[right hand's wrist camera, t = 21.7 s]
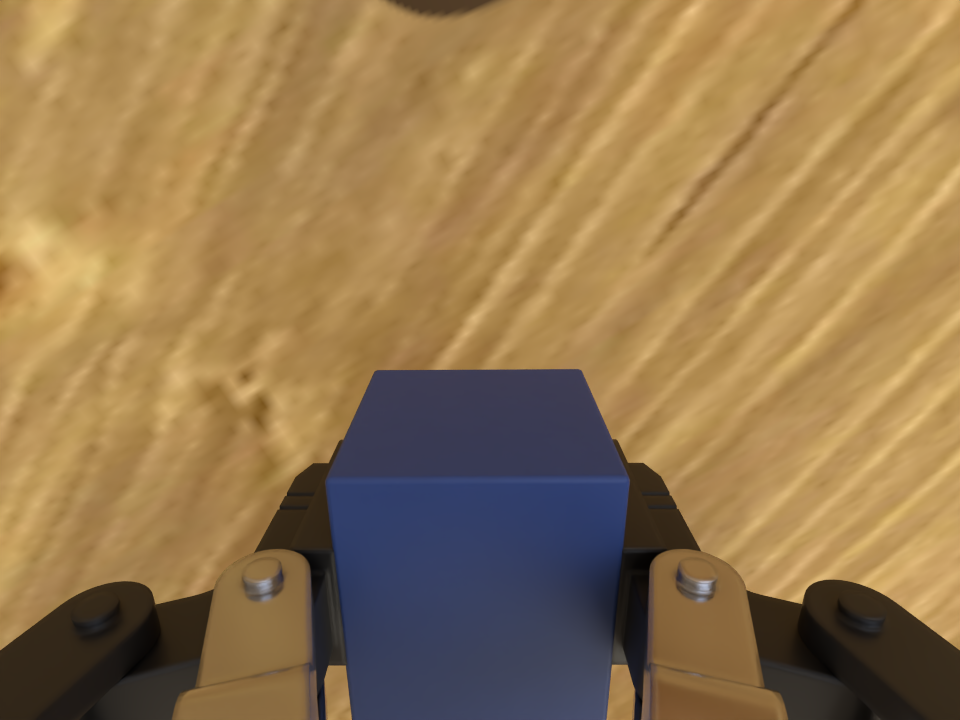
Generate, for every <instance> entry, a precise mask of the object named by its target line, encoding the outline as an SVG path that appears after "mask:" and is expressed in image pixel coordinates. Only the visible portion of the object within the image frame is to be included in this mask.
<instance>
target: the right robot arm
mask: <svg viewBox="0 0 960 720" xmlns="http://www.w3.org/2000/svg"><path fill="white" fill-rule="evenodd" d="M612 440H613V443H614V445H615V447H616V449H617V452H618V454H619V456H620V458H621V461H622V463H623V465H624V467H625V470H626V472H627V474H628V477H629V479H630V484H629V494H628V504H627V515H626V525H625V535H624V545H623V550H622V560H621V571H620V581H619V591H618V601H617V611H616V621H615V632H614V642H613V652H612V662H611V665H628V667H629V671H630V674H631V678H632V682H633V685H634V688H635V690H634V698H633V715H632V720H960V650H958V649H957V648H956V647H954V646H953V645H952V644H950V643H949V642H948V641H946V640H945V639H944V638H942V637H941V636H940V635H938V634H937V633H936V632H934V631H933V630H932V629H930V628H929V627H928V626H926V625H925V624H924V623H922V622H921V621H920V620H918V619H917V618H916V617H914V616H913V615H912V614H910V613H909V612H908V611H906V610H905V609H904V608H902V607H901V606H900V605H898V604H897V603H896V602H894V601H893V600H891V599H890V598H888V597H887V596H885V595H883V594H881V593H879V592H877V591H875V590H873V589H871V588H868V587H866V586H863V585H860V584H856V583H853V582H848V581H843V580H823V581H818V582H816V583H813V584H812V585H810V586H809V587H808V588H807V590H806V592H805V595H804V599H803V603H802V604H799V603H794V602H790V601H785V600H781V599H777V598H772V597H768V596H763V595H760V594H756V593H753V592H750V591H747V590H746V587H745V584H744V581H743V580H742V578H741V576H740V575H739V574H738V573H737V571H736V570H734V569H733V568H732V567H731V566H730V565H728V564H727V563H726V562H724V561H722V560H721V559H719V558H717V557H715V556H712V555H710V554H707V553H704V552H701V550H700V548H699V546H698V545H697V543H696V541H695V539H694V537H693V535H692V533H691V532H690V530H689V528H688V526H687V524H686V522H685V520H684V519H683V517H682V515H681V513H680V511H679V509H677V506H676V504H675V502H674V500H673V498H672V496H670V495H669V491H668V489H667V487H666V485H665V483H664V481H663V480H662V478H661V476H659V475H658V474H657V473H656V472H654V471H653V470H652V469H650V468H649V467H648V466H647V465H645V464H644V463H628V462H627V460H626V458H625V456H624V454H623V451H622V449H621V447H620V445H619V443H618V441H617V440H616V439H612ZM342 442H343V440H340V441H339V443H338V445H337V447H336V449H335V451H334V453H333V455H332V457H331V460H330V462H329V463H313V464H312V465H311V466H309V467H308V468H307V469H306V470H304V471H303V472H302V473H300V474H299V475H298V476H297V477H296V478H295V479H294V481H293V483H292V485H291V487H290V488H289V490H288V492H287V496H285V498H284V499H283V501H282V503H281V505H280V509H279V510H277V512H276V514H275V516H274V518H273V519H272V521H271V523H270V525H269V527H268V529H267V530H266V532H265V534H264V536H263V538H262V540H261V541H260V543H259V545H258V547H257V549H256V550H255V552H254V553H253V554H250V555H248V556H245V557H243V558H241V559H239V560H238V561H236V562H234V563H233V564H231V565H230V566H229V567H228V568H227V569H226V570H224V571H223V573H222V574H221V575H220V576H219V578H218V580H217V581H216V584H215V587H214V589H213V590H211V591H208V592H205V593H202V594H199V595H195V596H191V597H187V598H183V599H178V600H174V601H169V602H165V603H161V604H156V605H155V601H154V597H153V594H152V592H151V590H150V589H149V588H148V587H146V586H145V585H143V584H140V583H137V582H128V581H123V582H113V583H108V584H104V585H100V586H97V587H94V588H91V589H89V590H86V591H84V592H82V593H80V594H78V595H76V596H74V597H73V598H71V599H69V600H68V601H66V602H65V603H63V604H62V605H60V606H59V607H58V608H56V609H55V610H54V611H52V612H51V613H50V614H48V615H47V616H46V617H44V618H43V619H42V620H40V621H39V622H38V623H36V624H35V625H34V626H32V627H31V628H30V629H28V630H27V631H26V632H24V633H23V634H22V635H20V636H19V637H18V638H16V639H15V640H14V641H12V642H11V643H10V644H8V645H7V646H6V647H4V648H3V649H2V650H0V720H328V715H327V698H326V690H325V682H324V678H325V675H326V671H327V668H328V665H347V659H346V650H345V641H344V633H343V624H342V616H341V607H340V599H339V590H338V582H337V573H336V564H335V556H334V550H333V547H332V539H331V530H330V521H329V512H328V504H327V495H326V486H325V480H326V478H327V475H328V473H329V471H330V469H331V467H332V464H333V462H334V460H335V458H336V456H337V453H338V451H339V449H340V447H341V444H342Z"/></svg>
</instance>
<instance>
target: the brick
mask: <svg viewBox="0 0 960 720" xmlns="http://www.w3.org/2000/svg"><path fill="white" fill-rule="evenodd" d="M629 484H630V479H629V477H628V474H627V472H626V470H625V467H624V465H623V463H622V461H621V458H620V456H619V454H618V452H617V449H616V447H615V445H614V443H613V440H612V438H611V436H610V434H609V431H608V429H607V427H606V425H605V422H604V420H603V418H602V416H601V413H600V411H599V409H598V407H597V405H596V402H595V400H594V398H593V396H592V393H591V391H590V389H589V387H588V384H587V382H586V380H585V378H584V375H583V373H582V371H581V370H579V369H541V370H377V371H375V372H374V374H373V376H372V378H371V381H370V383H369V385H368V387H367V389H366V392H365V394H364V396H363V398H362V400H361V403H360V405H359V407H358V409H357V411H356V414H355V416H354V418H353V420H352V422H351V425H350V427H349V429H348V431H347V433H346V436H345V438H344V440H343V442H342V444H341V447H340V449H339V451H338V453H337V456H336V458H335V460H334V462H333V464H332V467H331V469H330V471H329V473H328V475H327V478H326V480H325V486H326V495H327V504H328V512H329V521H330V530H331V539H332V547H333V550H334V556H335V564H336V573H337V582H338V590H339V599H340V607H341V616H342V624H343V633H344V641H345V650H346V659H347V665H346V670H347V679H348V688H349V697H350V705H351V714H352V720H606V718H607V708H608V697H609V687H610V677H611V667H612V665H611V662H612V652H613V642H614V632H615V621H616V611H617V601H618V591H619V581H620V571H621V560H622V550H623V545H624V535H625V525H626V515H627V504H628V494H629Z"/></svg>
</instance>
